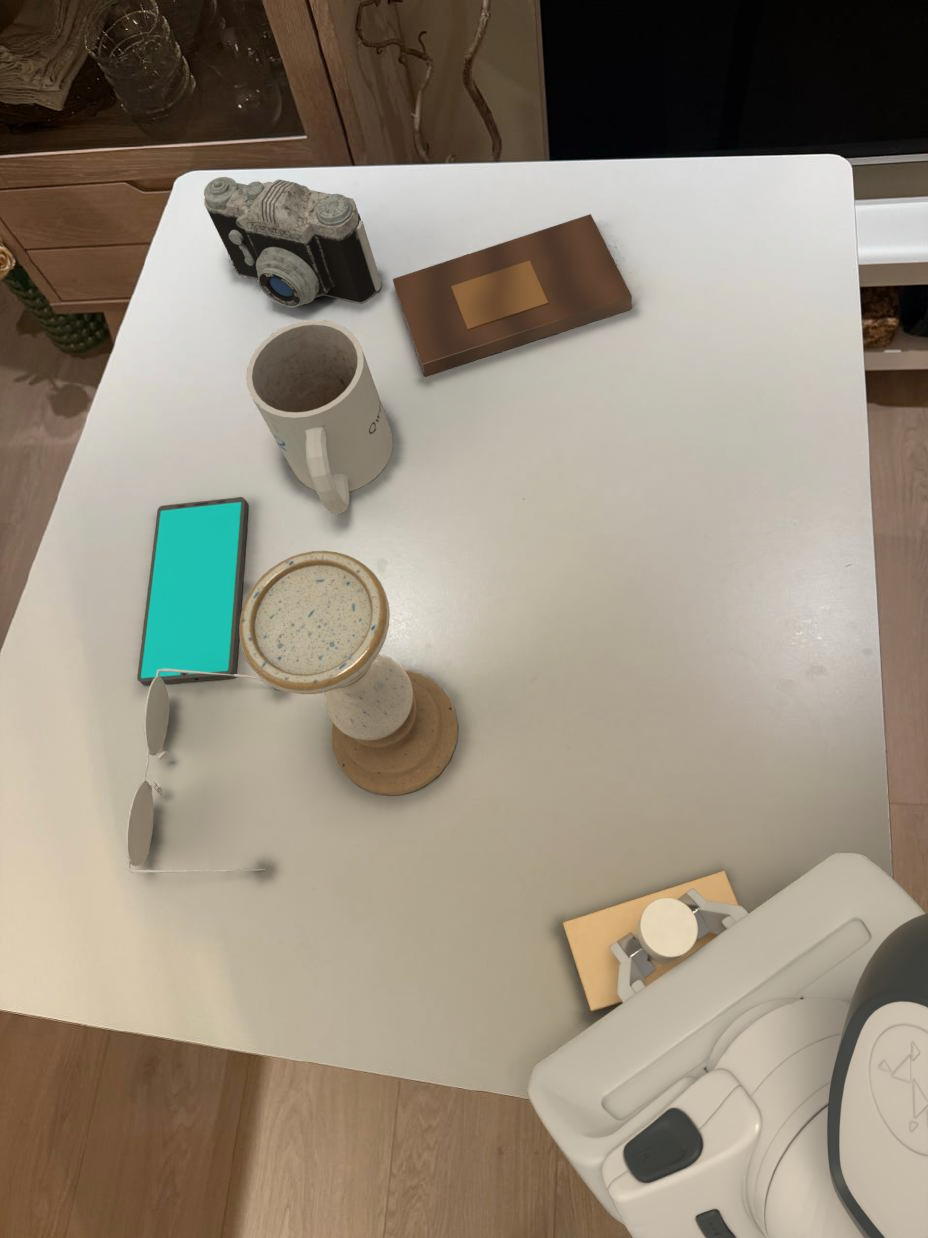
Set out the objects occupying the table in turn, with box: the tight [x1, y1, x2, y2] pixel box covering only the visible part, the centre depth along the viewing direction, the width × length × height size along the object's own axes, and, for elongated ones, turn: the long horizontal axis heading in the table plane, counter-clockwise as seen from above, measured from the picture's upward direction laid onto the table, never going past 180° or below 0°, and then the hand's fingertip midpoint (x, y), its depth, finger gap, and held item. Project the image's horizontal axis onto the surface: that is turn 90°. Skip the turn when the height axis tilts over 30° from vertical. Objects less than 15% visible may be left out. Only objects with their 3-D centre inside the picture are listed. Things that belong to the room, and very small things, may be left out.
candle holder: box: [239, 550, 459, 796], centre depth 53 cm, size 9×9×20 cm
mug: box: [245, 319, 394, 514], centre depth 68 cm, size 12×9×10 cm
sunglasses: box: [125, 669, 280, 874], centre depth 61 cm, size 14×8×5 cm, turn 0°
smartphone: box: [136, 496, 249, 686], centre depth 69 cm, size 7×1×15 cm
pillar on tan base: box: [562, 870, 740, 1012], centre depth 50 cm, size 10×5×12 cm, turn 106°
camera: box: [203, 176, 382, 309], centre depth 76 cm, size 15×7×10 cm, turn 67°
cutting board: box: [392, 213, 633, 377], centre depth 76 cm, size 18×10×2 cm, turn 106°
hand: (654, 925), depth 49 cm, fingers closed on pillar on tan base, 3 cm apart
